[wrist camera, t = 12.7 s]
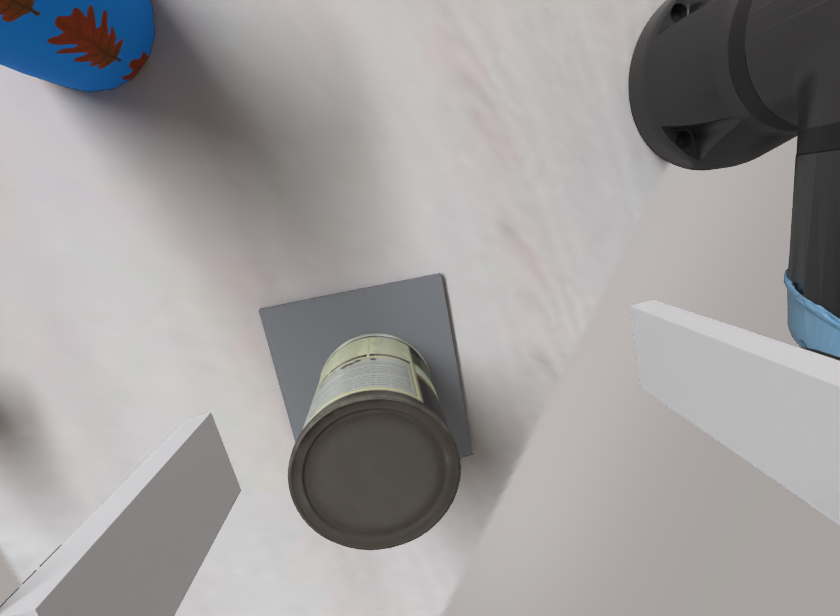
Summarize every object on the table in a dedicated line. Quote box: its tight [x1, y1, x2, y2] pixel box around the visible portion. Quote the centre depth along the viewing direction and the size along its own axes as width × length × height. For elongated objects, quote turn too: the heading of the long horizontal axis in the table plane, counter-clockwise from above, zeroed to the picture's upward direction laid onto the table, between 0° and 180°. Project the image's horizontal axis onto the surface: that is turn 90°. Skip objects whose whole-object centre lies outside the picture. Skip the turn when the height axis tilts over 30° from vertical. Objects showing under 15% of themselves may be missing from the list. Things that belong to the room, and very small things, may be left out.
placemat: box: [259, 273, 473, 457], centre depth 40 cm, size 16×18×1 cm
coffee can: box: [288, 333, 461, 550], centre depth 33 cm, size 10×10×14 cm
